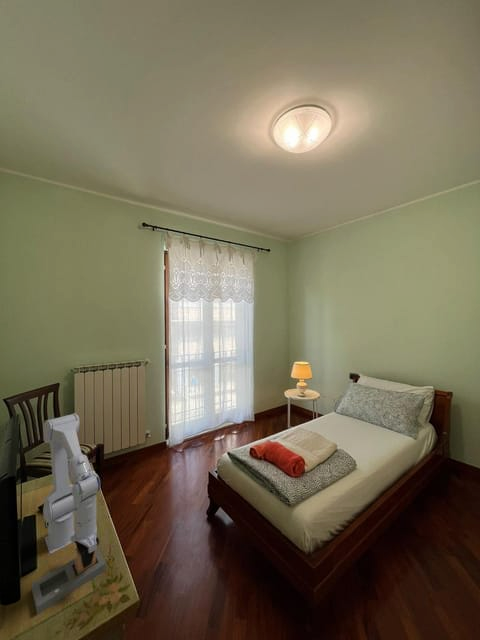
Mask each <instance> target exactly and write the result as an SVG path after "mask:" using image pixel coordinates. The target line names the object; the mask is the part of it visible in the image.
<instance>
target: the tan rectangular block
mask: <svg viewBox="0 0 480 640" xmlns="http://www.w3.org/2000/svg"><path fill="white" fill-rule="evenodd" d="M74 559H75V574H76V576H77V575H79V574H81V573H82V572H84V571H86V570H87V569H89V568H90V567H92V566H94V565H95V564H96V550H95V552H94V555H93V559H92V563H91V564H90V565H89V566H87V567H85V568H84V567H83V564H82V558H81V555H80V553H79V552H78V550H77V547H76V548H75V549H74Z"/></svg>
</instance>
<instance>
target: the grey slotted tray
mask: <svg viewBox="0 0 480 640" xmlns="http://www.w3.org/2000/svg"><path fill="white" fill-rule="evenodd" d="M106 570H107V563H106V561H105V559H104V557H103V556H102V554H101V552H100V550H99V548H98V547H97V549H96V564H95V565H94V566H92V567H90V568H89V569H87V570H86V571H84V572H82V573H81V574H79V575H77V576H76V574H75V558H73V559H72V560H70V561H68V562H66V563H65V564H62V565H61V566H59V567H57V568H56V569H54V570H52V571H50V572H49V573H47V574H45V575H44V576H42V577H40V578H38V579H37V580H34V581H33V582H31V592H32V598H33V602H34V607H35V611H36V616H38V615H39V614H41V613H42V612H44V611H46V610H47V609H48V608H50V607H52V606H53V605H55V604H56V603H57V602H59V601H60V600H63V599H64V598H65V597H67V596H69V594H72V593H73V592H74V591H76V590H77V589H79V588H80V587H82V586H84V585H85V584H86V583H88V582H90V581H91V580H93V579H94V578H96V577H98V576H99V575H100V574H102V573H104V572H105V571H106Z"/></svg>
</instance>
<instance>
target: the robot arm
mask: <svg viewBox="0 0 480 640" xmlns="http://www.w3.org/2000/svg"><path fill="white" fill-rule="evenodd" d="M80 423H81V422H80V417H79V415H78V414H77V413H75V412H74V413H72V414H68V415H63V416H60V417H55V418H51V419H46V420H45V421H44V423H43V426H42V431H43V432H42V433H43V434H42V435H43V442H44V443H45V444H49V446H50V456H51V457H50V461H51V472H52V473H51V475H52V490H50V492H49V493H48V495H47V496H46V497H45V498H44V499H43V508H42V514H43V519H44V522H45V523H46V522H47V523H49V527H48V528H47V529H48V535H47V536H45V537H44V541H45V544H46V546H47V549H48V552H49V553H48V554H50V555H51V554H53V553H55V552H57V551H59V550H60V549H63V548H65V547H66V546H68V545H70V544H72V543H75V545H76V548H77V550H78V552H79V553H80V555H81V558H82V564H83V567H84V568H85V567H87V566H89V565H90V564H91V563H92V559H93V555H94V552H95V550H96V549H97V548H98V546H99V544H100V539H99V537H97V532H98V527H97V496H98V495H97V494H98V493H99V492H100V490H101V479H100V477H99V475H98V474H97V473H96V471H95V470H93V469H92V467H91V465H90V461H89V458H88V456H87V455H86V454H83V453H82V449H81V446H80V442H79V437H78V432H79V428H80V425H81V424H80ZM68 459H69V460H68ZM68 461H69V462H68ZM70 479H71V480H70ZM70 481H71V484H70Z"/></svg>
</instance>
